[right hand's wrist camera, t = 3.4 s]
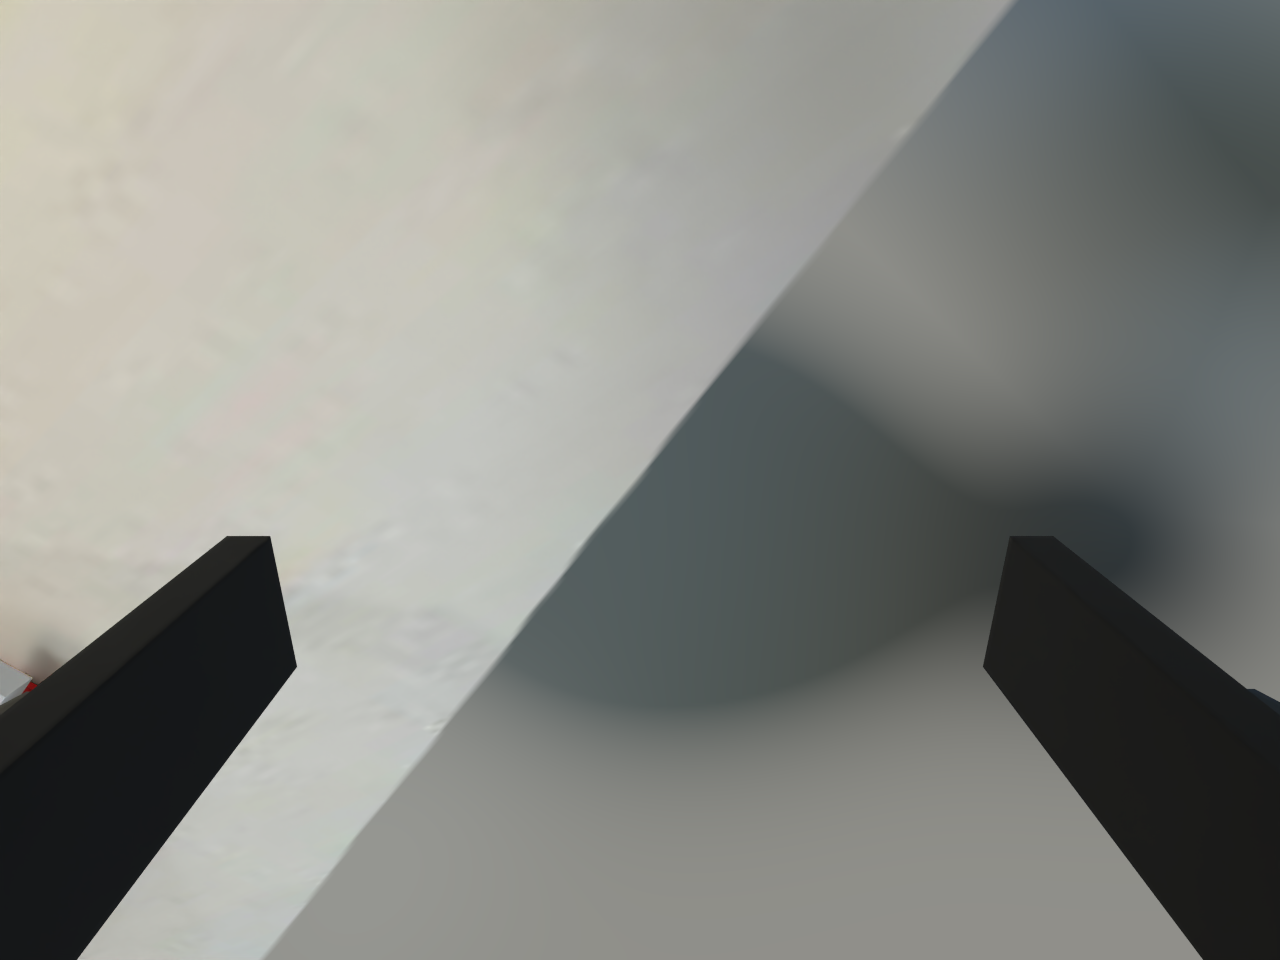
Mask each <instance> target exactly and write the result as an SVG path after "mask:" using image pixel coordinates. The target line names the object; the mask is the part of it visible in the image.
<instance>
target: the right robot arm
mask: <svg viewBox="0 0 1280 960" xmlns="http://www.w3.org/2000/svg"><path fill="white" fill-rule="evenodd" d="M296 667H297V664H296V660H295V655H294V650H293V645H292V640H291V635H290V630H289V626H288V621H287V616H286V611H285V606H284V601H283V596H282V591H281V587H280V582H279V577H278V572H277V567H276V562H275V557H274V553H273V548H272V543H271V538H270V536H227V537H225V538H224V539H223V540H222V541H220V542H219V543H218V544H216V545H215V546H214V547H213V548H211V549H210V550H209V551H208V552H206V553H205V554H204V555H203V556H201V557H200V558H199V559H197V560H196V561H195V562H194V563H192V564H191V565H190V566H189V567H187V568H186V569H185V570H183V571H182V572H181V573H180V574H178V575H177V576H176V577H175V578H173V579H172V580H171V581H170V582H168V583H167V584H166V585H164V586H163V587H162V588H161V589H159V590H158V591H157V592H156V593H154V594H153V595H152V596H151V597H149V598H148V599H147V600H145V601H144V602H143V603H142V604H140V605H139V606H138V607H137V608H135V609H134V610H133V611H132V612H130V613H129V614H128V615H126V616H125V617H124V618H123V619H121V620H120V621H119V622H118V623H116V624H115V625H114V626H113V627H111V628H110V629H109V630H107V631H106V632H105V633H104V634H102V635H101V636H100V637H99V638H97V639H96V640H95V641H93V642H92V643H91V644H90V645H88V646H87V647H86V648H85V649H83V650H82V651H81V652H80V653H78V654H77V655H76V656H74V657H73V658H72V659H71V660H69V661H68V662H67V663H66V664H64V665H63V666H62V667H61V668H59V669H58V670H57V671H55V672H54V673H53V674H52V675H50V676H49V677H48V678H47V679H45V680H44V681H43V682H42V683H40V684H39V685H38V686H36V687H35V688H34V689H33V690H31V691H30V692H25V693H23V694H21V695H19V696H17V697H15V698H13V699H11V700H9V701H7V702H6V703H4V704H2V705H0V960H77V959H78V957H79V956H80V955H81V953H82V952H83V951H84V949H85V948H86V947H87V945H88V944H89V943H90V942H91V940H92V939H93V938H94V936H95V935H96V934H97V932H98V931H99V930H100V928H101V927H102V926H103V924H104V923H105V922H106V920H107V919H108V918H109V916H110V915H111V914H112V912H113V911H114V910H115V908H116V907H117V906H118V904H119V903H120V902H121V900H122V899H123V898H124V896H125V895H126V894H127V892H128V891H129V890H130V888H131V887H132V886H133V884H134V883H135V882H136V880H137V879H138V878H139V876H140V875H141V874H142V872H143V871H144V870H145V868H146V867H147V866H148V864H149V863H150V862H151V860H152V859H153V858H154V856H155V855H156V854H157V852H158V851H159V850H160V848H161V847H162V846H163V844H164V843H165V842H166V840H167V839H168V838H169V836H170V835H171V834H172V832H173V831H174V830H175V828H176V827H177V826H178V824H179V823H180V822H181V820H182V819H183V818H184V816H185V815H186V814H187V812H188V811H189V810H190V808H191V807H192V806H193V804H194V803H195V802H196V800H197V799H198V798H199V796H200V795H201V794H202V792H203V791H204V790H205V788H206V787H207V786H208V785H209V783H210V782H211V781H212V779H213V778H214V777H215V775H216V774H217V773H218V771H219V770H220V769H221V767H222V766H223V765H224V763H225V762H226V761H227V759H228V758H229V757H230V755H231V754H232V753H233V751H234V750H235V749H236V747H237V746H238V745H239V743H240V742H241V741H242V739H243V738H244V737H245V735H246V734H247V733H248V731H249V730H250V729H251V727H252V726H253V725H254V723H255V722H256V721H257V719H258V718H259V717H260V715H261V714H262V713H263V711H264V710H265V709H266V707H267V706H268V705H269V703H270V702H271V701H272V699H273V698H274V697H275V695H276V694H277V693H278V691H279V690H280V689H281V687H282V686H283V685H284V683H285V682H286V681H287V679H288V678H289V677H290V675H291V674H292V673H293V671H294V670H295V669H296ZM983 667H984V669H985V670H986V671H987V673H988V674H989V675H990V677H991V678H992V679H993V681H994V682H995V683H996V685H997V686H998V687H999V689H1000V690H1001V691H1002V693H1003V694H1004V695H1005V697H1006V698H1007V699H1008V701H1009V702H1010V703H1011V705H1012V706H1013V707H1014V709H1015V710H1016V711H1017V713H1018V714H1019V715H1020V717H1021V718H1022V719H1023V721H1024V722H1025V723H1026V725H1027V726H1028V727H1029V729H1030V730H1031V731H1032V732H1033V734H1034V735H1035V737H1036V738H1037V739H1038V741H1039V742H1040V743H1041V745H1042V746H1043V747H1044V749H1045V750H1046V751H1047V753H1048V754H1049V755H1050V757H1051V758H1052V759H1053V761H1054V762H1055V763H1056V765H1057V766H1058V767H1059V768H1060V770H1061V771H1062V772H1063V774H1064V775H1065V777H1066V778H1067V779H1068V780H1069V782H1070V783H1071V785H1072V786H1073V787H1074V788H1075V790H1076V791H1077V792H1078V794H1079V795H1080V796H1081V798H1082V799H1083V800H1084V802H1085V803H1086V804H1087V806H1088V807H1089V808H1090V810H1091V811H1092V812H1093V814H1094V815H1095V816H1096V818H1097V819H1098V820H1099V822H1100V823H1101V824H1102V826H1103V827H1104V828H1105V830H1106V831H1107V832H1108V834H1109V835H1110V836H1111V838H1112V839H1113V840H1114V842H1115V843H1116V844H1117V846H1118V847H1119V848H1120V850H1121V851H1122V852H1123V854H1124V855H1125V856H1126V858H1127V859H1128V860H1129V862H1130V863H1131V864H1132V866H1133V867H1134V868H1135V870H1136V871H1137V872H1138V874H1139V875H1140V876H1141V878H1142V879H1143V880H1144V882H1145V883H1146V884H1147V886H1148V887H1149V888H1150V890H1151V891H1152V892H1153V894H1154V895H1155V896H1156V898H1157V899H1158V900H1159V901H1160V903H1161V904H1162V906H1163V907H1164V908H1165V910H1166V911H1167V912H1168V914H1169V915H1170V916H1171V917H1172V919H1173V920H1174V921H1175V923H1176V924H1177V926H1178V927H1179V928H1180V929H1181V931H1182V932H1183V933H1184V935H1185V936H1186V937H1187V939H1188V940H1189V941H1190V943H1191V944H1192V945H1193V947H1194V948H1195V949H1196V951H1197V952H1198V953H1199V955H1200V956H1201V957H1202V959H1203V960H1280V702H1278V701H1276V700H1275V699H1273V698H1271V697H1269V696H1267V695H1265V694H1263V693H1261V692H1259V691H1257V690H1255V689H1246V688H1245V687H1244V686H1242V685H1241V684H1240V683H1238V682H1237V681H1236V680H1235V679H1233V678H1232V677H1231V676H1230V675H1228V674H1227V673H1226V672H1224V671H1223V670H1222V669H1221V668H1219V667H1218V666H1217V665H1216V664H1214V663H1213V662H1212V661H1211V660H1209V659H1208V658H1207V657H1206V656H1204V655H1203V654H1202V653H1200V652H1199V651H1198V650H1197V649H1195V648H1194V647H1193V646H1192V645H1190V644H1189V643H1188V642H1187V641H1185V640H1184V639H1183V638H1181V637H1180V636H1179V635H1178V634H1176V633H1175V632H1174V631H1173V630H1171V629H1170V628H1169V627H1167V626H1166V625H1165V624H1164V623H1162V622H1161V621H1160V620H1159V619H1157V618H1156V617H1155V616H1154V615H1152V614H1151V613H1150V612H1148V611H1147V610H1146V609H1145V608H1143V607H1142V606H1141V605H1140V604H1138V603H1137V602H1136V601H1135V600H1133V599H1132V598H1131V597H1129V596H1128V595H1127V594H1126V593H1124V592H1123V591H1122V590H1121V589H1119V588H1118V587H1117V586H1116V585H1114V584H1113V583H1112V582H1110V581H1109V580H1108V579H1107V578H1105V577H1104V576H1103V575H1102V574H1100V573H1099V572H1098V571H1096V570H1095V569H1094V568H1093V567H1091V566H1090V565H1089V564H1088V563H1086V562H1085V561H1084V560H1083V559H1081V558H1080V557H1079V556H1077V555H1076V554H1075V553H1074V552H1072V551H1071V550H1070V549H1069V548H1067V547H1066V546H1065V545H1064V544H1062V543H1061V542H1060V541H1058V540H1057V539H1056V538H1055V537H1053V536H1010V538H1009V543H1008V548H1007V553H1006V557H1005V562H1004V567H1003V572H1002V577H1001V582H1000V587H999V592H998V596H997V601H996V606H995V611H994V616H993V621H992V626H991V630H990V635H989V640H988V645H987V650H986V655H985V660H984V664H983Z"/></svg>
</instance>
